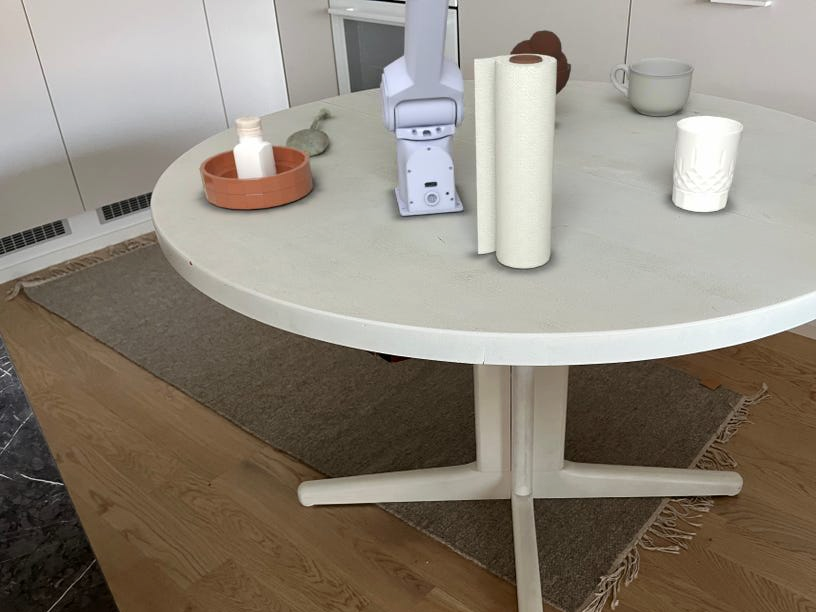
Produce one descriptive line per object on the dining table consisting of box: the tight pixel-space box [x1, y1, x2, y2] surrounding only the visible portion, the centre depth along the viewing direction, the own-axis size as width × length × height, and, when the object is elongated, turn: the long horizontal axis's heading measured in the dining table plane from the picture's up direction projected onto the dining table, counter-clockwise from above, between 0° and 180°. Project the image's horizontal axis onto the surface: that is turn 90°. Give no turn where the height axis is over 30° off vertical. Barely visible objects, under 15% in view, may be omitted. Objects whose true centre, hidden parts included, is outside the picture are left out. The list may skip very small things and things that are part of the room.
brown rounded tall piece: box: [509, 29, 572, 95], centre depth 128 cm, size 11×11×15 cm
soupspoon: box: [285, 107, 331, 157], centre depth 129 cm, size 22×3×7 cm
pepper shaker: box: [232, 115, 277, 179], centre depth 105 cm, size 4×4×10 cm
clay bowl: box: [198, 145, 314, 210], centre depth 107 cm, size 14×14×4 cm
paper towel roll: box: [473, 54, 557, 269], centre depth 83 cm, size 7×6×21 cm
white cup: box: [671, 115, 744, 213], centre depth 99 cm, size 8×8×10 cm
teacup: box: [609, 57, 695, 117], centre depth 136 cm, size 14×11×8 cm
